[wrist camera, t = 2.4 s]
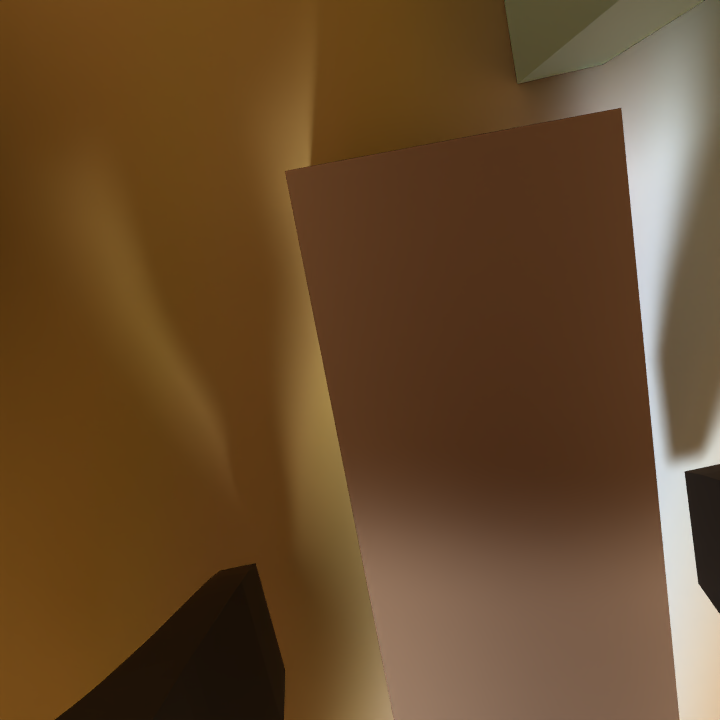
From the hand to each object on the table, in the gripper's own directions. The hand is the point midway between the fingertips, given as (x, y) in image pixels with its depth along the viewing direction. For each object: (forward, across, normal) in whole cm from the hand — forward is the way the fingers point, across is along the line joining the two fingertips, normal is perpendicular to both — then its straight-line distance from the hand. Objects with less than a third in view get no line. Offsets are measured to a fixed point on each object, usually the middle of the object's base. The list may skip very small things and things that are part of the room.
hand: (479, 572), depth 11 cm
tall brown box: (+2, 0, 0) cm, 2 cm away
